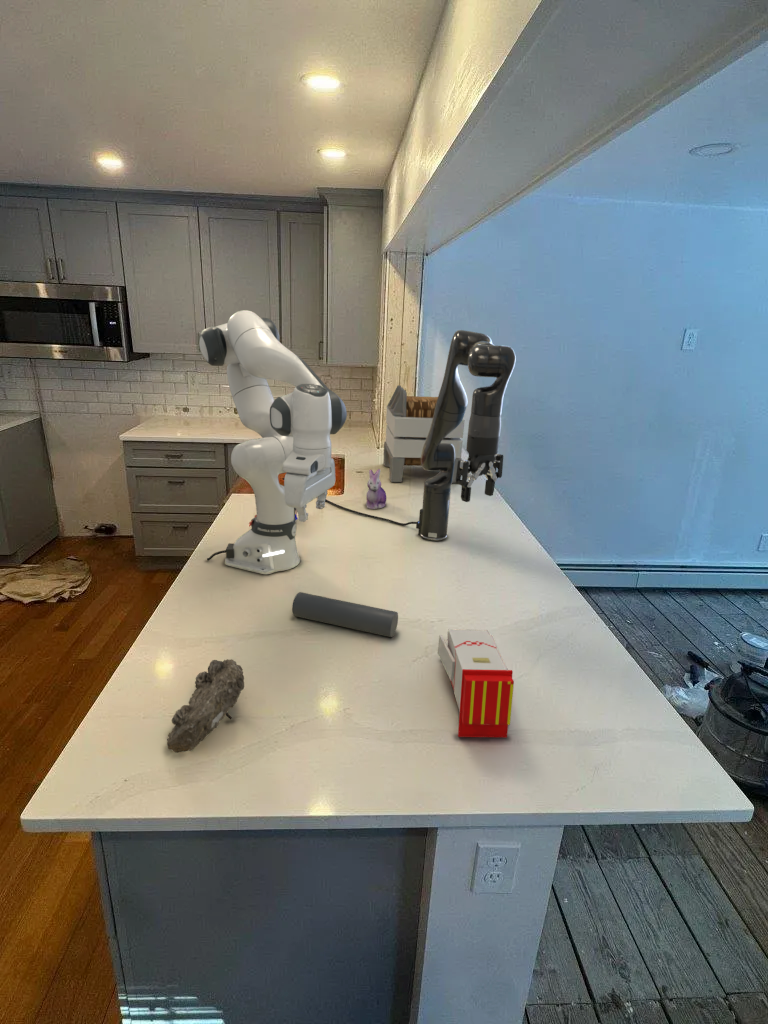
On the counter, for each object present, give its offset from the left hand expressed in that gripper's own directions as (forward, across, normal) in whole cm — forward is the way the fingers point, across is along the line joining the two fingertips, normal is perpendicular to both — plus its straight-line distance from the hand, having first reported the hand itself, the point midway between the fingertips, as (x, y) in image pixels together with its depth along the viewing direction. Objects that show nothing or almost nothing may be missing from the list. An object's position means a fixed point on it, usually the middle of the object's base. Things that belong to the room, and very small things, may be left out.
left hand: (312, 514), depth 134 cm
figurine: (+28, -88, -14) cm, 94 cm away
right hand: (-4, -18, +36) cm, 41 cm away
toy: (+28, +14, +43) cm, 53 cm away
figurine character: (+28, -56, -36) cm, 72 cm away
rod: (+28, 0, +9) cm, 29 cm away
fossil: (+28, +40, -2) cm, 49 cm away
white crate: (+28, -143, -10) cm, 146 cm away
